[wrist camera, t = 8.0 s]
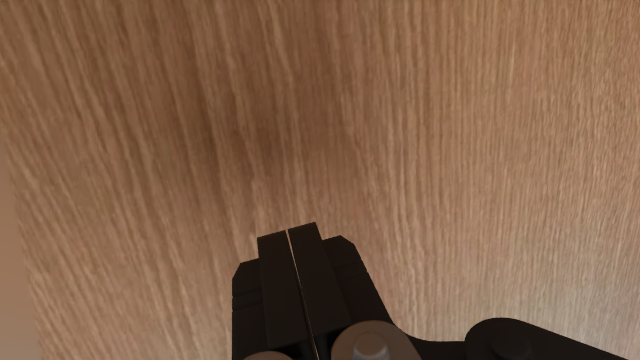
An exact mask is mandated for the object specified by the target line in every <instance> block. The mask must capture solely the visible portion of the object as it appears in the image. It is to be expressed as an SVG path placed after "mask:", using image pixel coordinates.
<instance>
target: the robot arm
mask: <svg viewBox="0 0 640 360" xmlns="http://www.w3.org/2000/svg"><path fill="white" fill-rule="evenodd" d="M288 233H289V238H290V242H291V246H292V250H293V254H294V259H295V263H296V267H297V271H298V274H297V271H296V267H295V263H294V260H293V256H292V253H291V249H290V245H289V242H288V238H287V234H286V231H285V230H283V231H280V232H276V233H272V234H269V235H265V236H261V237H257V244H258V254H259V258H257V259H253V260H250V261H246V262H243V263H240V265H239V267H238V269H237V271H236V273H235V275H234V277H233V278H232V296H233V298H232V309H233V312H232V360H318V357H319V360H627V359H625V358H622V357H619V356H616V355H614V354H611V353H608V352H606V351H603V350H600V349H597V348H595V347H592V346H589V345H586V344H584V343H581V342H578V341H575V340H573V339H570V338H567V337H565V336H562V335H559V334H556V333H554V332H551V331H548V330H545V329H543V328H540V327H537V326H535V325H532V324H529V323H526V322H523V321H520V320H517V319H511V318H491V319H487V320H484V321H481V322H479V323H477V324H476V325H474V326H473V327H472V328H471V329H470V330H469V332H468V333H467V335H466V337H465V341H442V342H437V341H426V340H421V339H418V338H414V337H412V336H410V335H408V334H406V333H405V332H403V331H402V330H401V329H399V328H398V327H397V326H396V325H395V324H394V323H393V321H392V320H391V318H390V316H389V314H388V312H387V310H386V308H385V306H384V304H383V302H382V300H381V298H380V296H379V294H378V292H377V290H376V288H375V286H374V284H373V282H372V280H371V278H370V276H369V274H368V273H367V269H366V267H365V265H364V263H363V261H362V260H361V257H360V255H359V253H358V251H357V249H356V247H355V245H354V244H353V243H351V242H350V241H348V240H347V239H345V238H344V237H342V236H341V235H340V236H336V237H332V238H329V239H325V240H322V239H321V236H320V233H319V231H318V228H317V225H316V223H315V222H312V223H309V224H305V225H301V226H298V227H294V228H290V229H288ZM298 276H299V278H298ZM299 280H300V282H299ZM300 284H301V286H300ZM301 288H302V290H301ZM302 293H303V294H302ZM303 297H304V298H303ZM304 301H305V302H304ZM305 305H306V306H305ZM308 318H309V319H308ZM309 322H310V323H309ZM312 335H313V336H312ZM313 339H314V340H313ZM314 343H315V344H314ZM315 346H316V348H315ZM316 350H317V353H318V357H317V353H316Z"/></svg>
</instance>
